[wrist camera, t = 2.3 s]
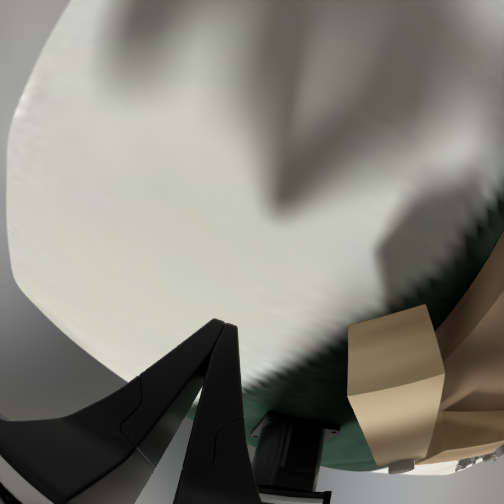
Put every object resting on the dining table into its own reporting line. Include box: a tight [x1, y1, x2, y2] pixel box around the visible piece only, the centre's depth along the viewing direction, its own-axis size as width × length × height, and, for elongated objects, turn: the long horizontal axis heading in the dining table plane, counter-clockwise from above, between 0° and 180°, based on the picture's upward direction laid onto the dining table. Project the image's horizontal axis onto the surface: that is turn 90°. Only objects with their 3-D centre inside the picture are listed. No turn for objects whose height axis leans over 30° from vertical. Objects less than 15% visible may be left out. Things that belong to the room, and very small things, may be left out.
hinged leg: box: [347, 304, 445, 474], centre depth 9 cm, size 11×3×4 cm, turn 27°
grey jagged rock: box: [455, 451, 498, 472], centre depth 17 cm, size 11×8×4 cm
